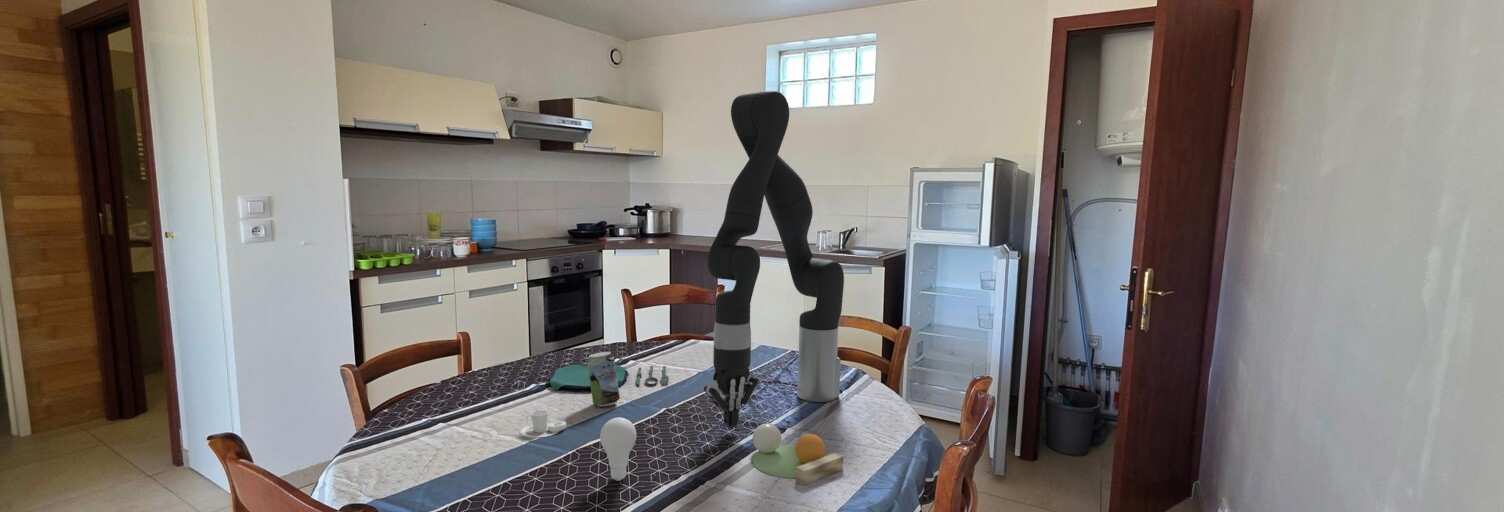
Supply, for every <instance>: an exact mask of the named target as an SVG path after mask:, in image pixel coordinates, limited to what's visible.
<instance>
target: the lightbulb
mask: <svg viewBox="0 0 1504 512" xmlns="http://www.w3.org/2000/svg"><path fill="white" fill-rule="evenodd" d="M636 439H637V429H636V427H635V425H634V424H633V422H631V420H629V419H627V418H624V417H619V416H618V417H614V418H611V419H609V420H608V421H606V423H604V425H603V426H602V428H601V430H600V434H599V440H600V444H601V446H602V448H603V449H604V451H605V453H606V455H607V458H608V466H609V467H610V477H611V479H613V480H615V481H617V482H619V481H622V480H623V479H625V478H626V476H627V466H628V464H629V456H630V453H631V451H632V449H633V447H634V445H635V443H636V441H637V440H636Z"/></svg>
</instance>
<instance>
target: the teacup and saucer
mask: <svg viewBox="0 0 1504 512" xmlns="http://www.w3.org/2000/svg"><path fill="white" fill-rule="evenodd" d="M548 415H549V413H548V411H546V410H536V411H533V412H532V413H531V414H527V416H526V418H525V421H526V423H527V424H528V425H526V426H524V427H523V428H521V429H520V430H519V434H520V435H521V436H523V437H525V438H530V439H531V438H532V439H537V438H538V439H539V438H547V437H550V436H551V437H552V436H554V435H556V434H559V432H561V431H563V430H565V429H566V428H567V422H566V421H564V420H558V421H554V422H548V419H549V417H548ZM529 417H530V418H531V420H532V421H531V423H530V422H529V420H528V418H529ZM528 429H533V431H534V432H535V433H536V434H537V433H539V434H541V433H544V432H546V431H547V429H548V432H551V433H548V434H544V435H530V434H528V433H526V431H527V430H528Z"/></svg>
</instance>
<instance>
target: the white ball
mask: <svg viewBox="0 0 1504 512" xmlns="http://www.w3.org/2000/svg"><path fill="white" fill-rule="evenodd" d="M752 442H753V445H754V447H755V448H756V450H757V451H761V452H763V453H772V452H774V451H775V450H777V449H778V447H779V446H780V445H781V444H782V433H781V431H780V429H779V428H778V426H776V425H775V424H772V423H767V422H766V423H762V424H760V425H758V426H757V427H756V428H755V430H754V431H753V434H752Z"/></svg>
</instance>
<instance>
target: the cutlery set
mask: <svg viewBox="0 0 1504 512" xmlns="http://www.w3.org/2000/svg"><path fill="white" fill-rule="evenodd" d="M615 367H616V374H617V382H618V386H620V385H622V384H623V383H624V381H625V380H626V379H628V377H629V376H630V375H629V374H630V373H629V372H628V370H627V369H626V367H625V366H621V365H617V364H615ZM641 370H642V367H638V372H637V373H636V381H635V383H636V386H638V387H640V384H641V378H642V373H641ZM649 370H650V377H646V378H645V380H644V382H645V383H646V384H647V385H650V386H651V385H656V384H657V383H658V381H659V380H658V378H656V377H655V376H654V377H653V374H654V372H653V371H654V366H652V365H651V366H649ZM662 370H663V371H662V373H663V374H662V376H661V377H660V381H661V385H662V386H668V385H669V380H670V379H669V378H670V377H669V376H667V369H666V365H663V366H662ZM548 382H549V383H550V386H551V388H552V389H553V390H556V391H559V389H560V388H566V389H576V390H577V389H578V390H580V389H582V390H585V389H586V390H587V389H591V386H590V379H589V371H588V364H587V363H586V364H572V365H567V366H563V367H559V368H556V369H555V370H554V371H553V372H551V373H550V374H549V375H548ZM649 382H654V383H649Z"/></svg>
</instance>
